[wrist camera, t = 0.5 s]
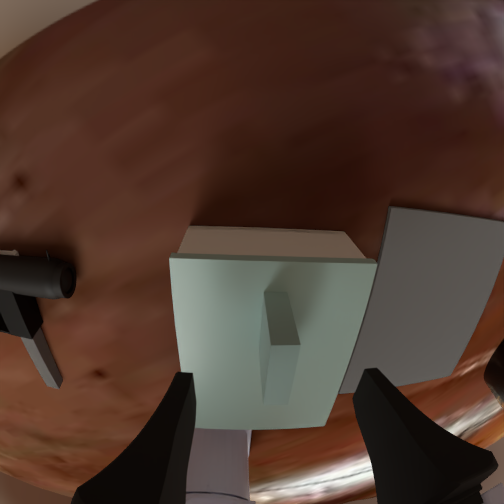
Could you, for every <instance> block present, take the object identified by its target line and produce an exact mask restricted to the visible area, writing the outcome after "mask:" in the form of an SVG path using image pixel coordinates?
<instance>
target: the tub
mask: <svg viewBox="0 0 504 504" xmlns="http://www.w3.org/2000/svg"><path fill="white" fill-rule="evenodd" d="M178 253H192V254H224V255H258V256H292V257H328V258H364V259H366V257H365V256H364V255H363V254H362V252H361V251H360V250H359V249H358V248H357V246H356V245H355V244H354V243H353V241H352V240H351V239H350V238H349V237H348V235H347V234H346V233H345V232H344V231H326V230H304V229H281V228H254V227H223V226H189V227H188V229H187V231H186V234H185V236H184V238H183V241H182V243H181V245H180V248H179V250H178Z"/></svg>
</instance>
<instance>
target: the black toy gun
mask: <svg viewBox="0 0 504 504" xmlns="http://www.w3.org/2000/svg"><path fill="white" fill-rule="evenodd" d="M46 253H47V257H48V258H43V257H29V256H19V253H18V251H16V250H13V251H5V250H0V332H4V333H8V334H11V335H15V336H19V337H21V339H22V341H23V343H24V345H25V347H26V349H27V351H28V353H29V355H30V357H31V358H32V360H33V362H34V364H35V366H36V368H37V369H38V371H39V373H40V375H41V376H42V378H43V380H44V382H45V383H46V385H47V386H49V387H53V388H57V389H59V388H60V386H61V384H62V382H63V379H62V377H61V375H60V373H59V371H58V368H57V366H56V364H55V362H54V359H53V357H52V355H51V352H50V350H49V347H48V345H47V342H46V340H45V337H44V335H43V332H42V330H41V328H40V327H41V325H42V323H43V320H42V317H41V314H40V311H39V308H38V305H37V301H36V298H35V297H41V298H48V299H59V298H70V297H71V296H72V295H73V293H74V291H75V287H76V272H75V268H74V266H73V265H72V264H71V263H64V262H63V261H62V260H59V259H56V258H50V255H48V253H49V252H48V251H47V250H46Z"/></svg>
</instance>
